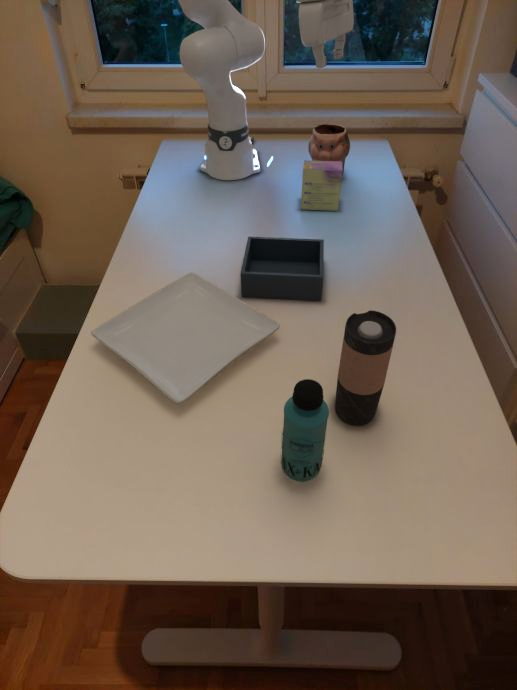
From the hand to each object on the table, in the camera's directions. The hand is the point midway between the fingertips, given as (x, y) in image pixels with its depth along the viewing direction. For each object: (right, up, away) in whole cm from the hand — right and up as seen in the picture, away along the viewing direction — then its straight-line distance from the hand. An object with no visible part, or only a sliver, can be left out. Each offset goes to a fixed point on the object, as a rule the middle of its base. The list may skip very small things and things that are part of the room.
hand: (330, 63), depth 110 cm
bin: (-10, -47, +6) cm, 48 cm away
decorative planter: (+5, -9, +45) cm, 46 cm away
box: (+1, -23, +31) cm, 38 cm away
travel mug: (+1, -73, -21) cm, 76 cm away
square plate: (-30, -61, -8) cm, 69 cm away
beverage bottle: (-9, -82, -30) cm, 88 cm away
